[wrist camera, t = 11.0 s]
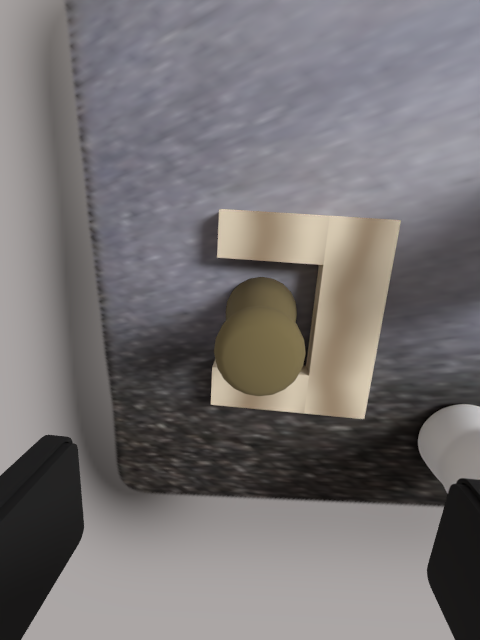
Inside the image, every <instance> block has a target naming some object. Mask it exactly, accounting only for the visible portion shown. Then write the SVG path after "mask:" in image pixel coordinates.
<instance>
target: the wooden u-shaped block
mask: <svg viewBox="0 0 480 640" xmlns="http://www.w3.org/2000/svg"><path fill="white" fill-rule="evenodd" d="M400 223H401V220H389V219H372V218H356V217H340V216H324V215H308V214H292V213H276V212H259V211H243V210H227V209H219V226H218V249H217V258H231V259H245V260H259V261H274V262H288V263H302V264H317V265H319V267H318V275H317V283H316V291H315V299H314V307H313V315H312V323H311V331H310V339H309V347H308V355H307V363H306V366H303V367H302V370H301V372H300V373H299V375H298V376H297V378H296V380H295V381H294V382H293V383H292V384H291V385H289V386H288V387H287V388H286V389H285V390H282V391H280V392H278V393H275V394H273V395H266V396H254V395H248V394H244V393H242V392H240V391H238V390H236V389H234V388H233V387H232V386H231V385H230V384H228V383H227V382H226V381H225V380H224V379H223V377H222V375H221V373H220V372H219V370H218V368H217V364H216V359H215V361H214V364H213V367H212V387H211V405H220V406H231V407H241V408H252V409H263V410H273V411H284V412H295V413H305V414H316V415H326V416H337V417H348V418H358V419H364V417H365V411H366V406H367V401H368V395H369V390H370V384H371V379H372V374H373V368H374V363H375V358H376V352H377V347H378V341H379V336H380V331H381V325H382V320H383V315H384V309H385V304H386V298H387V293H388V288H389V282H390V277H391V271H392V266H393V261H394V255H395V250H396V245H397V239H398V234H399V228H400Z"/></svg>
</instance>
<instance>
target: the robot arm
mask: <svg viewBox="0 0 480 640" xmlns="http://www.w3.org/2000/svg"><path fill="white" fill-rule="evenodd" d="M83 530H84V520H83V508H82V496H81V484H80V471H79V459H78V449H77V445H76V444H73V443H72V440H71V438H69V437H64V436H54V435H45V436H44V437H42V438H41V439H40V440H39V441H38V442H37V443H36V444H34V445H33V446H32V447H31V448H30V449H29V450H28V451H27V452H26V453H25V454H23V455H22V456H21V457H20V458H19V459H18V460H17V461H16V462H15V463H14V464H13V465H11V467H9V468H8V469H7V470H6V471H5V472H4V473H3V474H2V475H1V476H0V640H21V639H22V637H23V635H24V634H25V632H26V630H27V629H28V627H29V625H30V624H31V622H32V620H33V619H34V617H35V615H36V614H37V612H38V610H39V609H40V607H41V605H42V604H43V602H44V600H45V599H46V597H47V595H48V594H49V592H50V590H51V589H52V587H53V585H54V584H55V582H56V580H57V579H58V577H59V576H60V574H61V572H62V571H63V569H64V567H65V566H66V564H67V562H68V561H69V559H70V557H71V556H72V554H73V552H74V550H75V549H76V547H77V545H78V544H79V542H80V540H81V537H82V534H83ZM427 575H428V580H429V584H430V586H431V588H432V591H433V593H434V595H435V597H436V600H437V602H438V604H439V606H440V608H441V610H442V612H443V615H444V617H445V619H446V621H447V623H448V625H449V627H450V630H451V632H452V634H453V636H454V638H455V640H480V480H477V479H467V478H460V479H459V480H458V481H457V483H456V484H452V485H451V486H450V488H449V492H448V495H447V499H446V502H445V506H444V510H443V514H442V517H441V521H440V524H439V527H438V531H437V535H436V538H435V542H434V545H433V549H432V553H431V556H430V559H429V563H428V568H427Z"/></svg>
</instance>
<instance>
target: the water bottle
mask: <svg viewBox="0 0 480 640" xmlns="http://www.w3.org/2000/svg"><path fill="white" fill-rule="evenodd" d="M418 448H419V452H420V454H421V457H422V458H423V460H424V462H425V463H426V464H427V466H428V467H429V469H430V470H431V471H432V473H433V474H434V475H435V476H436V477H437V479H438V480H439V481H440V482H441V483H442V484H443V486H444V488H445V490H446V492H447V493H448V492H449V488H450V486H451V485H452V484H456V483H457V481H458V480H459V479H460V478H467V479H477V480H480V407H478V406H475V405H469V404H458V405H452V406H448V407H445V408H443V409H441V410H439V411H437V412H435V413H434V414H433V415H431V416H430V417H429V418H428V419H427V420H426V422H425V423H424V424H423V426H422V428H421V430H420V432H419V436H418Z"/></svg>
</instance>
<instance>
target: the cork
mask: <svg viewBox="0 0 480 640" xmlns="http://www.w3.org/2000/svg"><path fill="white" fill-rule="evenodd" d="M296 316H297V309H296V302H295V300H294V298H293V296H292V294H291V292H290V291H289V290H288V289H287V288H286V287H285V286H284V285H283V284H282V283H280V282H278V281H276V280H274V279H271V278H265V277H258V278H251V279H248V280H246V281H244V282H242V283H241V284H239V285H238V286H237V287H236V288H235V289H234V290H233V291H232V293H231V295H230V297H229V299H228V301H227V306H226V321H225V322H224V323H223V325H222V327H221V329H220V331H219V333H218V335H217V337H216V341H215V348H214V354H215V359H216V364H217V368H218V370H219V372H220V373H221V375H222V377H223V379H224V380H225V381H226V382H227V383H228V384H230V385H231V386H232V387H233V388H234V389H236V390H238V391H240V392H242V393H244V394H248V395H254V396H266V395H273V394H275V393H278V392H280V391H282V390H285V389H286V388H287V387H288V386H289V385H291V384H292V383H293V382H294V381H295V380H296V378H297V376H298V375H299V373H300V372H301V370H302V367H303V363H304V359H305V354H306V352H305V344H304V339H303V336H302V334H301V332H300V330H299V328H298V326H297V324H296Z"/></svg>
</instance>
